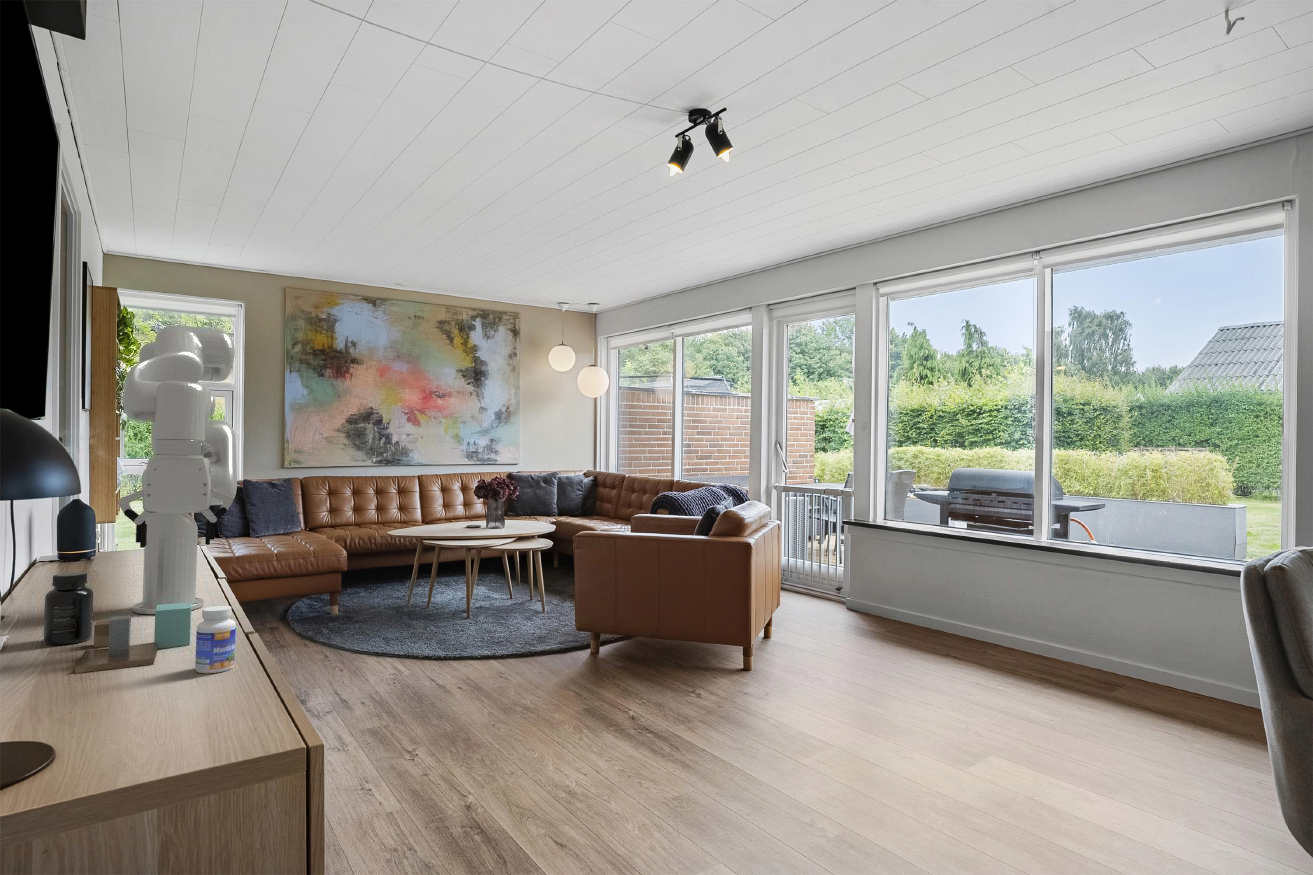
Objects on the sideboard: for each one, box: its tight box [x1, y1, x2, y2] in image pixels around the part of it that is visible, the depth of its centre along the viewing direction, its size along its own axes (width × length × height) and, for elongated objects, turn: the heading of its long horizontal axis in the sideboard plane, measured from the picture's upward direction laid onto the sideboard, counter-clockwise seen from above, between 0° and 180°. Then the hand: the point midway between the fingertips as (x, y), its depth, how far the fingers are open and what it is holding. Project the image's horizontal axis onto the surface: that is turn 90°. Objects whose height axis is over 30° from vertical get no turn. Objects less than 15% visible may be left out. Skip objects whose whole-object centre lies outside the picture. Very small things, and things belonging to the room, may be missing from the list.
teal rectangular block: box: [153, 602, 192, 649], centre depth 128 cm, size 5×5×7 cm
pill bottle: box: [194, 605, 237, 674], centre depth 115 cm, size 5×5×10 cm
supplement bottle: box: [43, 571, 94, 646], centre depth 128 cm, size 7×7×12 cm
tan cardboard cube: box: [93, 619, 110, 649], centre depth 126 cm, size 3×3×4 cm
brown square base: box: [74, 615, 159, 674], centre depth 118 cm, size 10×10×7 cm
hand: (176, 545), depth 128 cm, fingers open, 9 cm apart
